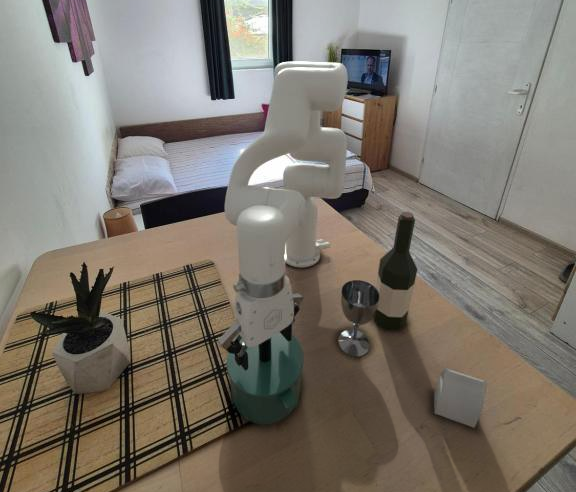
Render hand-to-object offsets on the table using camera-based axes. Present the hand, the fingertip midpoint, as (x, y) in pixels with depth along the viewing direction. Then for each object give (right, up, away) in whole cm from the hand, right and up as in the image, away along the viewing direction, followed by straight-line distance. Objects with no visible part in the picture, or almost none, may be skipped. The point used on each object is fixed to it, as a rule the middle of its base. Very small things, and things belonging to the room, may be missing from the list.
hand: (264, 349), depth 61 cm
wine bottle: (+30, -3, +21) cm, 37 cm away
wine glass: (+20, -6, +14) cm, 25 cm away
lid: (0, -2, +1) cm, 3 cm away
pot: (0, -10, +5) cm, 11 cm away
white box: (+36, -12, +1) cm, 38 cm away
